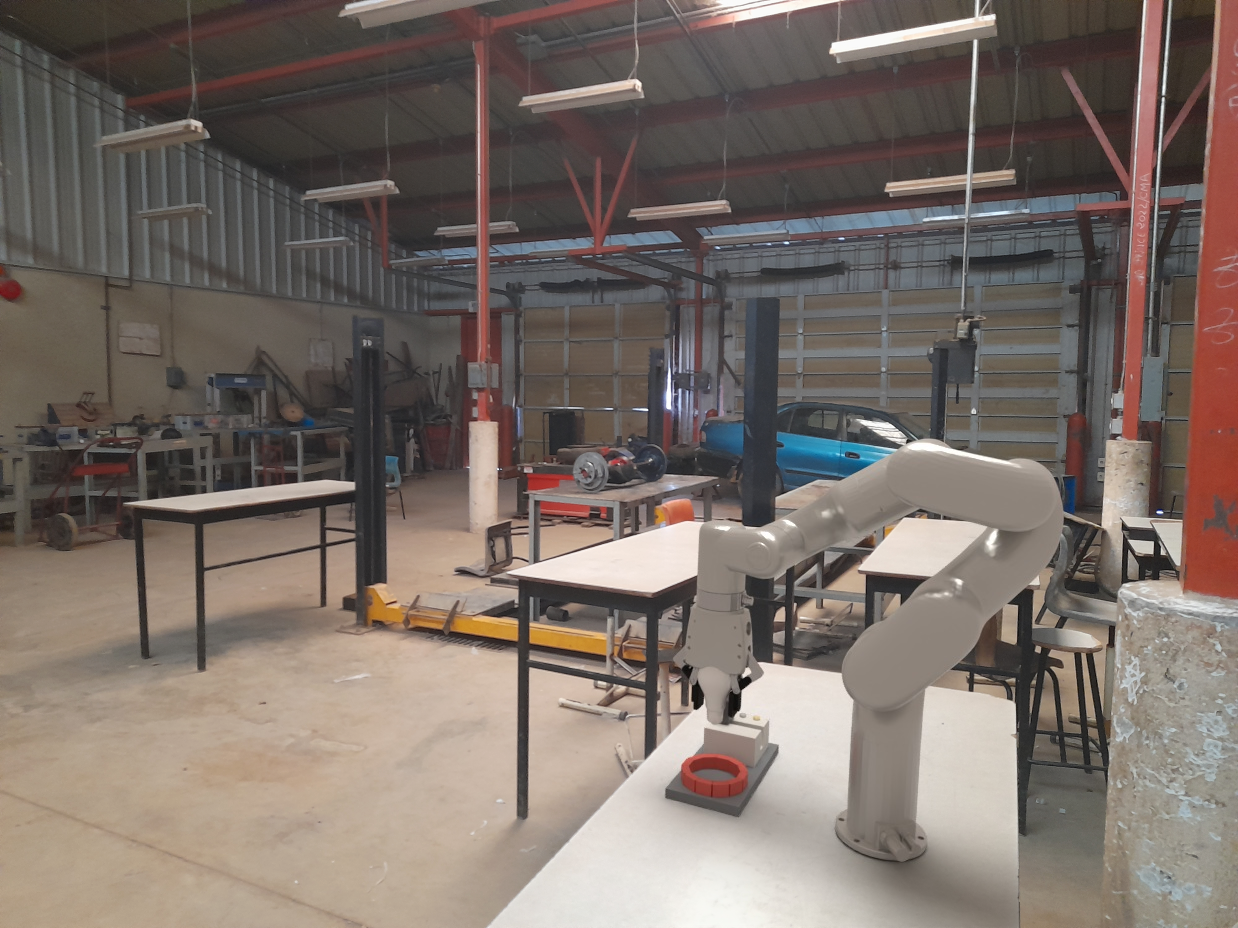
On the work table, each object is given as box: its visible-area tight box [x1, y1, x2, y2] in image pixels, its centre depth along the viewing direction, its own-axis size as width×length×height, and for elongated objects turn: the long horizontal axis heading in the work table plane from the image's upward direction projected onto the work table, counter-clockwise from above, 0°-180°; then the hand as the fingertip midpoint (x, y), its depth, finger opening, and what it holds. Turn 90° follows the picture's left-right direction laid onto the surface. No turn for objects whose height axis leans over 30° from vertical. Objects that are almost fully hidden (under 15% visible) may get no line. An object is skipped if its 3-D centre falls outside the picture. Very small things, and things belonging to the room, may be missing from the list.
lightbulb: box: [698, 667, 732, 725], centre depth 125 cm, size 6×6×11 cm
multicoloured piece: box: [664, 712, 780, 817], centre depth 131 cm, size 24×12×7 cm, turn 154°
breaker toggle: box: [721, 695, 735, 724], centre depth 137 cm, size 4×2×7 cm, turn 154°
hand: (715, 709), depth 125 cm, fingers closed on lightbulb, 5 cm apart
